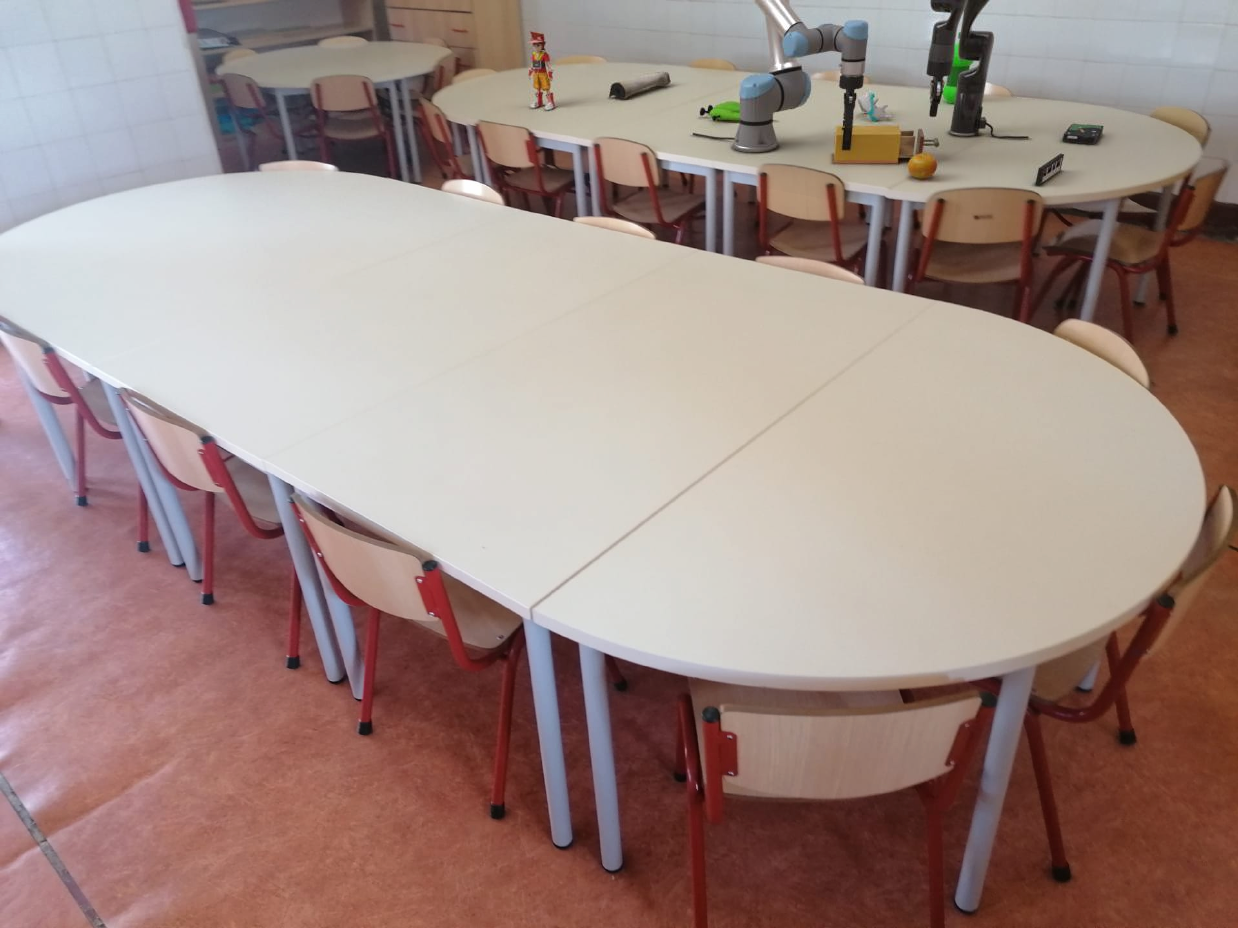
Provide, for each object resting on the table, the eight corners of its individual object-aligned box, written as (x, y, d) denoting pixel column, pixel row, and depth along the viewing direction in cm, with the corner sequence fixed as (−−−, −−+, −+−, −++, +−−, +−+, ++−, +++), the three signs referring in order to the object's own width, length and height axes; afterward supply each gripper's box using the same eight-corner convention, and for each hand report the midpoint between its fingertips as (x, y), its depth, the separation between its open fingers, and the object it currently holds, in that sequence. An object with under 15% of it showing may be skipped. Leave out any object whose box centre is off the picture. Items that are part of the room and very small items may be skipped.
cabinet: (895, 154, 303) (899, 125, 297) (897, 163, 294) (901, 134, 289) (833, 154, 306) (836, 126, 301) (834, 163, 298) (836, 134, 293)
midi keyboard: (1039, 185, 269) (1043, 168, 266) (1035, 184, 270) (1038, 168, 267) (1060, 170, 279) (1064, 154, 277) (1056, 169, 280) (1060, 153, 277)
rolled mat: (651, 76, 408) (662, 61, 399) (662, 93, 408) (674, 79, 400) (605, 92, 391) (616, 77, 383) (617, 110, 391) (628, 95, 383)
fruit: (901, 168, 278) (918, 145, 275) (903, 171, 286) (919, 148, 282) (924, 184, 276) (941, 161, 273) (925, 186, 284) (942, 163, 281)
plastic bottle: (973, 101, 354) (984, 32, 339) (955, 106, 349) (966, 36, 335) (952, 97, 361) (962, 29, 346) (934, 102, 356) (944, 33, 342)
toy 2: (690, 119, 348) (760, 132, 336) (691, 105, 346) (762, 118, 333) (721, 108, 369) (789, 120, 356) (723, 95, 366) (791, 106, 353)
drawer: (935, 151, 299) (938, 128, 295) (938, 159, 292) (941, 136, 288) (860, 151, 304) (862, 129, 300) (861, 160, 296) (863, 137, 292)
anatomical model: (852, 90, 344) (878, 82, 343) (855, 117, 350) (880, 110, 349) (864, 99, 332) (891, 92, 331) (867, 127, 338) (893, 120, 337)
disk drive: (1095, 145, 299) (1102, 133, 309) (1097, 137, 298) (1104, 125, 308) (1061, 142, 304) (1069, 130, 314) (1063, 134, 302) (1071, 122, 312)
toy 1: (525, 109, 381) (517, 32, 364) (534, 104, 388) (527, 28, 371) (550, 110, 377) (543, 32, 360) (559, 105, 384) (553, 28, 367)
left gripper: (839, 67, 296) (834, 135, 309) (840, 83, 278) (834, 155, 290) (863, 66, 295) (856, 135, 308) (865, 82, 276) (858, 155, 289)
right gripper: (926, 54, 285) (919, 111, 295) (930, 63, 274) (922, 122, 284) (951, 54, 284) (942, 111, 294) (955, 63, 273) (947, 121, 283)
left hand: (845, 145), depth 299 cm, fingers closed on cabinet, 11 cm apart
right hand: (932, 116), depth 289 cm, fingers closed
